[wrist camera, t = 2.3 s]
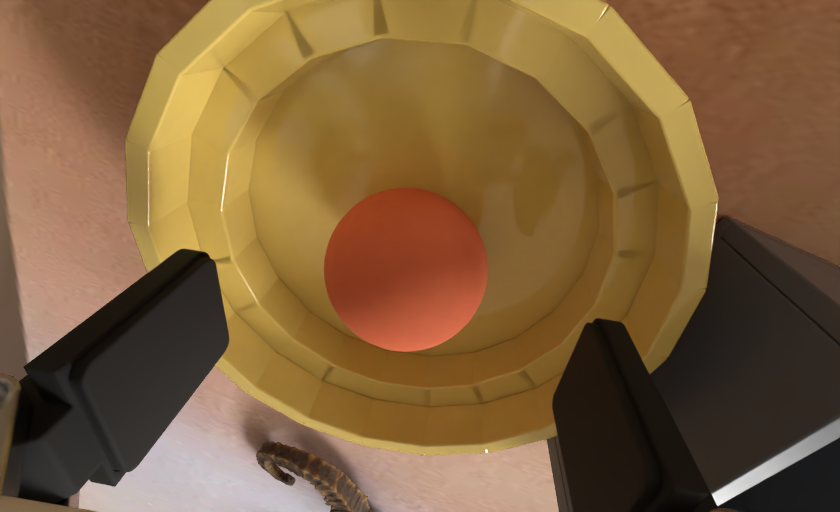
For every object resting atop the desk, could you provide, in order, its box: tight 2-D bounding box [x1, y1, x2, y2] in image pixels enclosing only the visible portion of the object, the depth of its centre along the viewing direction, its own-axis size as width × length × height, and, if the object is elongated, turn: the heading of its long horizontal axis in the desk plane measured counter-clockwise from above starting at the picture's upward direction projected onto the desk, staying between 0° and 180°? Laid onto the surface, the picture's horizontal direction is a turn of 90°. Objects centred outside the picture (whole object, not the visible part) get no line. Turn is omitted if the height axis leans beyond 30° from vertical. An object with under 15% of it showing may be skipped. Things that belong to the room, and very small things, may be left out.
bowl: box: [125, 0, 719, 455], centre depth 12 cm, size 15×15×4 cm
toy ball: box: [324, 188, 488, 352], centre depth 12 cm, size 5×5×5 cm
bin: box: [547, 216, 840, 512], centre depth 13 cm, size 11×10×6 cm
